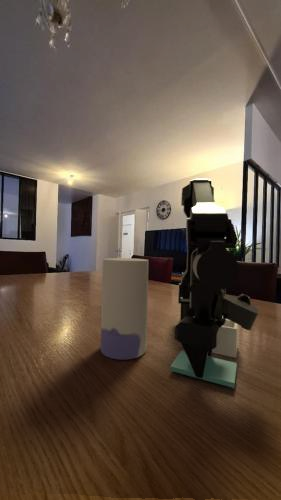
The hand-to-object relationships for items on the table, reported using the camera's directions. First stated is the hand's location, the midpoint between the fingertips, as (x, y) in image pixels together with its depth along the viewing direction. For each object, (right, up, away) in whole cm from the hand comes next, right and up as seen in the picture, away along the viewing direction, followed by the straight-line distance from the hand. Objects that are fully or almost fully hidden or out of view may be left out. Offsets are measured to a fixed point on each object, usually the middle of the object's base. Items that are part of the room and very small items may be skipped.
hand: (204, 365), depth 41 cm
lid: (0, -1, 0) cm, 1 cm away
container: (-15, -1, +8) cm, 18 cm away
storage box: (+5, -1, +11) cm, 12 cm away
